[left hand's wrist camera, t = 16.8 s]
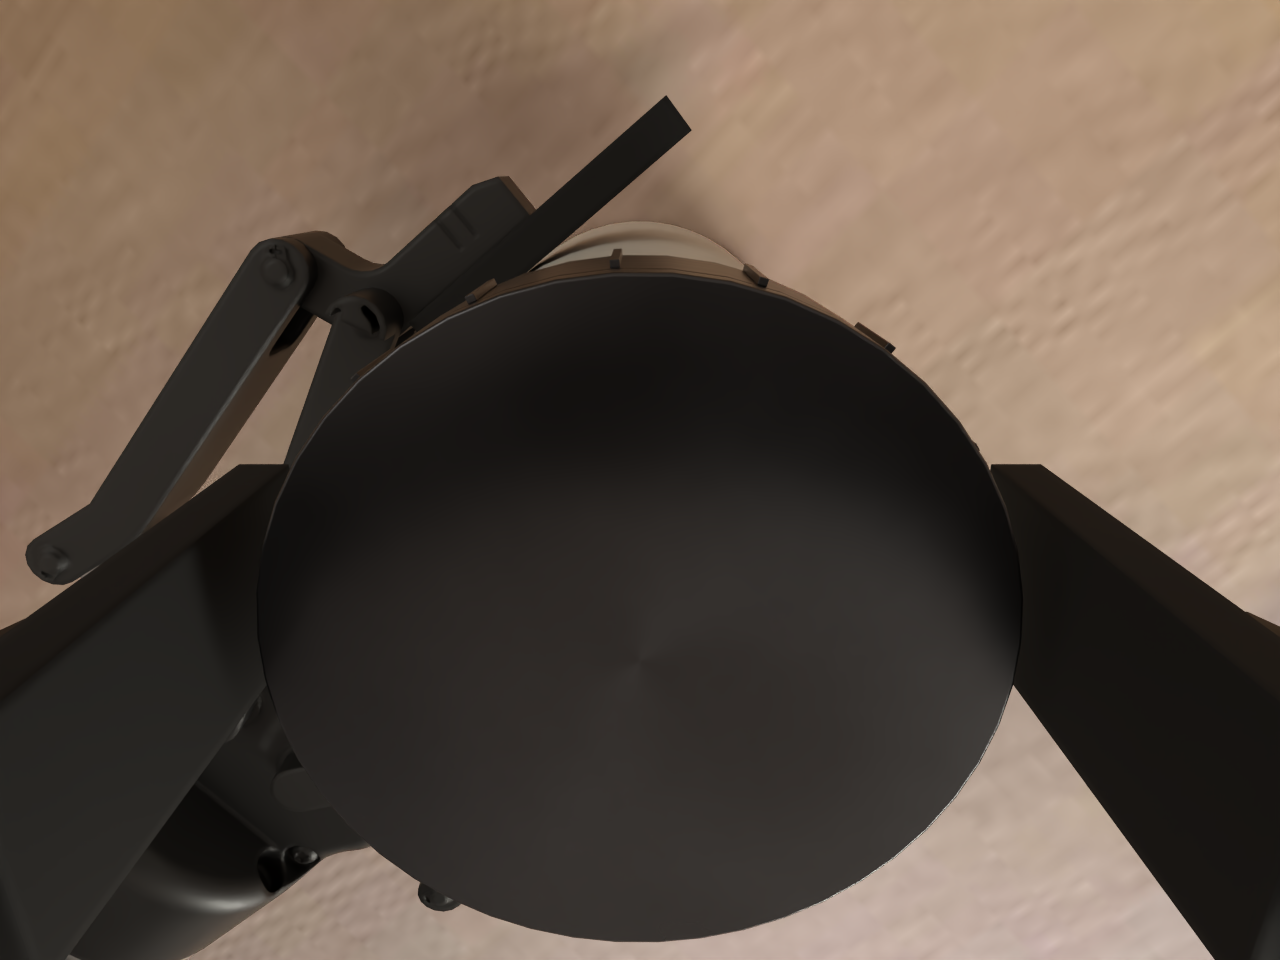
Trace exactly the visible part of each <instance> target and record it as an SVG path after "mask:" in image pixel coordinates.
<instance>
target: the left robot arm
mask: <svg viewBox="0 0 1280 960" xmlns="http://www.w3.org/2000/svg"><path fill="white" fill-rule="evenodd" d="M289 471H290V470H289V464H239V465H238V466H236V467H235V468H233V469H232V470H231V471H229V472H228V473H227V474H225V475H224V476H222V477H221V478H220V479H218V480H217V481H215V482H214V483H213V484H211V485H210V486H209V487H207V488H206V489H204V490H203V491H202V492H200V493H199V494H197V495H196V496H195V497H193V498H192V499H191V500H189V501H188V502H186V503H185V504H184V505H182V506H181V507H179V508H178V509H177V510H175V511H174V512H173V513H171V514H170V515H168V516H167V517H166V518H164V519H163V520H161V521H160V522H159V523H157V524H156V525H155V526H153V527H152V528H150V529H149V530H148V531H146V532H145V533H143V534H142V535H141V536H139V537H138V538H137V539H135V540H134V541H132V542H131V543H130V544H128V545H127V546H125V547H124V548H123V549H121V550H120V551H119V552H117V553H116V554H114V555H113V556H112V557H110V558H109V559H107V560H106V561H105V562H103V563H102V564H101V565H99V566H98V567H96V568H95V569H94V570H92V571H91V572H89V573H88V574H87V575H85V576H84V577H83V578H81V579H80V580H78V581H77V582H76V583H74V584H73V585H71V586H70V587H69V588H67V589H66V590H65V591H63V592H62V593H60V594H59V595H58V596H56V597H55V598H53V599H52V600H51V601H49V602H48V603H47V604H45V605H44V606H42V607H41V608H40V609H38V610H37V611H35V612H34V613H33V614H31V615H30V616H29V617H27V618H26V619H24V620H21V621H19V622H17V623H15V624H13V625H10V626H8V627H6V628H4V629H2V630H0V960H65V959H66V958H67V957H68V955H69V954H70V953H71V951H72V950H73V948H74V947H75V946H76V944H77V943H78V942H79V940H80V939H81V937H82V936H83V935H84V933H85V932H86V931H87V929H88V928H89V927H90V925H91V924H92V922H93V921H94V920H95V918H96V917H97V916H98V914H99V913H100V912H101V910H102V909H103V907H104V906H105V905H106V903H107V902H108V901H109V899H110V898H111V897H112V895H113V894H114V892H115V891H116V890H117V888H118V887H119V886H120V884H121V883H122V881H123V880H124V879H125V877H126V876H127V875H128V873H129V872H130V871H131V869H132V868H133V866H134V865H135V864H136V862H137V861H138V860H139V858H140V857H141V856H142V854H143V853H144V851H145V850H146V849H147V847H148V846H149V845H150V843H151V842H152V841H153V839H154V838H155V836H156V835H157V834H158V832H159V831H160V830H161V828H162V827H163V826H164V824H165V823H166V821H167V820H168V819H169V817H170V816H171V815H172V813H173V812H174V810H175V809H176V808H177V806H178V805H179V804H180V802H181V801H182V800H183V798H184V797H185V795H186V794H187V793H188V791H189V790H190V789H191V787H192V786H193V785H194V783H195V782H196V780H197V779H198V778H199V776H200V775H201V774H202V772H203V771H204V770H205V768H206V767H207V765H208V764H209V763H210V761H211V760H212V759H213V757H214V756H215V755H216V753H217V752H218V750H219V749H220V748H221V746H222V745H223V744H224V742H225V741H226V739H227V738H228V737H229V735H230V734H231V733H232V731H233V730H234V729H235V727H236V726H237V724H238V723H239V722H240V720H241V719H242V718H243V716H244V715H245V714H246V712H247V711H248V709H249V708H250V707H251V705H252V704H253V703H254V701H255V700H256V699H257V697H258V696H259V694H260V693H261V692H262V690H263V689H264V688H265V686H266V685H267V684H266V681H265V677H264V671H263V666H262V660H261V654H260V649H259V643H258V637H257V599H256V590H257V582H258V575H259V567H260V559H261V551H262V545H263V542H264V538H265V535H266V531H267V528H268V524H269V521H270V518H271V514H272V511H273V507H274V504H275V501H276V499H277V496H278V494H279V492H280V490H281V488H282V486H283V484H284V481H285V479H286V477H287V475H288V473H289ZM990 472H991V474H992V476H993V478H994V481H995V483H996V485H997V487H998V490H999V492H1000V494H1001V496H1002V499H1003V501H1004V503H1005V505H1006V508H1007V512H1008V516H1009V519H1010V523H1011V527H1012V530H1013V534H1014V538H1015V542H1016V545H1017V549H1018V554H1019V563H1020V572H1021V581H1022V590H1023V615H1022V639H1021V646H1020V652H1019V657H1018V662H1017V667H1016V672H1015V677H1014V683H1013V685H1014V686H1015V688H1016V689H1017V690H1018V692H1019V693H1020V694H1021V696H1022V697H1023V699H1024V700H1025V701H1026V703H1027V704H1028V705H1029V707H1030V708H1031V709H1032V711H1033V712H1034V714H1035V715H1036V716H1037V718H1038V719H1039V720H1040V722H1041V723H1042V724H1043V726H1044V727H1045V729H1046V730H1047V731H1048V733H1049V734H1050V735H1051V737H1052V738H1053V739H1054V741H1055V742H1056V744H1057V745H1058V746H1059V748H1060V749H1061V750H1062V752H1063V753H1064V755H1065V756H1066V757H1067V759H1068V760H1069V761H1070V763H1071V764H1072V765H1073V767H1074V768H1075V770H1076V771H1077V772H1078V774H1079V775H1080V776H1081V778H1082V779H1083V780H1084V782H1085V783H1086V785H1087V786H1088V787H1089V789H1090V790H1091V791H1092V793H1093V794H1094V795H1095V797H1096V798H1097V800H1098V801H1099V802H1100V804H1101V805H1102V806H1103V808H1104V809H1105V811H1106V812H1107V813H1108V815H1109V816H1110V817H1111V819H1112V820H1113V821H1114V823H1115V824H1116V826H1117V827H1118V828H1119V830H1120V831H1121V832H1122V834H1123V835H1124V836H1125V838H1126V839H1127V841H1128V842H1129V843H1130V845H1131V846H1132V847H1133V849H1134V850H1135V851H1136V853H1137V854H1138V856H1139V857H1140V858H1141V860H1142V861H1143V862H1144V864H1145V865H1146V866H1147V868H1148V869H1149V871H1150V872H1151V873H1152V875H1153V876H1154V877H1155V879H1156V880H1157V882H1158V883H1159V884H1160V886H1161V887H1162V888H1163V890H1164V891H1165V892H1166V894H1167V895H1168V897H1169V898H1170V899H1171V901H1172V902H1173V903H1174V905H1175V906H1176V907H1177V909H1178V910H1179V912H1180V913H1181V914H1182V916H1183V917H1184V918H1185V920H1186V921H1187V922H1188V924H1189V925H1190V927H1191V928H1192V929H1193V931H1194V932H1195V933H1196V935H1197V936H1198V937H1199V939H1200V940H1201V942H1202V943H1203V944H1204V946H1205V947H1206V948H1207V950H1208V951H1209V953H1210V954H1211V955H1212V957H1213V958H1214V959H1215V960H1280V627H1279V626H1277V625H1275V624H1273V623H1271V622H1269V621H1266V620H1264V619H1262V618H1260V617H1258V616H1255V615H1253V614H1251V613H1249V612H1245V611H1243V610H1242V609H1240V608H1239V607H1238V606H1236V605H1235V604H1233V603H1232V602H1231V601H1229V600H1228V599H1227V598H1225V597H1224V596H1222V595H1221V594H1220V593H1218V592H1217V591H1215V590H1214V589H1213V588H1211V587H1210V586H1209V585H1207V584H1206V583H1204V582H1203V581H1202V580H1200V579H1199V578H1197V577H1196V576H1195V575H1193V574H1192V573H1191V572H1189V571H1188V570H1186V569H1185V568H1184V567H1182V566H1181V565H1179V564H1178V563H1177V562H1175V561H1174V560H1173V559H1171V558H1170V557H1168V556H1167V555H1166V554H1164V553H1163V552H1161V551H1160V550H1159V549H1157V548H1156V547H1155V546H1153V545H1152V544H1150V543H1149V542H1148V541H1146V540H1145V539H1143V538H1142V537H1141V536H1139V535H1138V534H1137V533H1135V532H1134V531H1132V530H1131V529H1130V528H1128V527H1127V526H1125V525H1124V524H1123V523H1121V522H1120V521H1119V520H1117V519H1116V518H1114V517H1113V516H1112V515H1110V514H1109V513H1107V512H1106V511H1105V510H1103V509H1102V508H1101V507H1099V506H1098V505H1096V504H1095V503H1094V502H1092V501H1091V500H1089V499H1088V498H1087V497H1085V496H1084V495H1083V494H1081V493H1080V492H1078V491H1077V490H1076V489H1074V488H1073V487H1071V486H1070V485H1069V484H1067V483H1066V482H1065V481H1063V480H1062V479H1060V478H1059V477H1058V476H1056V475H1055V474H1053V473H1052V472H1051V471H1049V470H1048V469H1047V468H1045V467H1044V466H1042V465H1041V464H991V470H990Z"/></svg>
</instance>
